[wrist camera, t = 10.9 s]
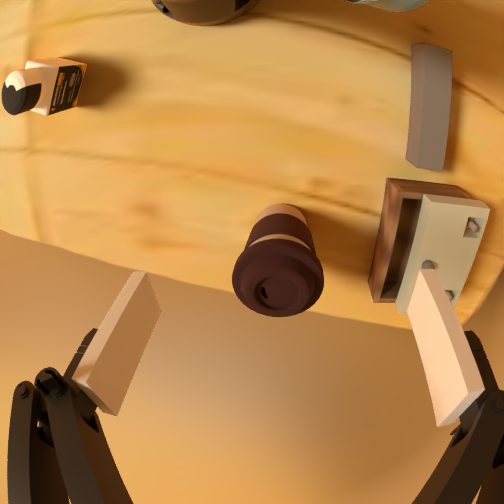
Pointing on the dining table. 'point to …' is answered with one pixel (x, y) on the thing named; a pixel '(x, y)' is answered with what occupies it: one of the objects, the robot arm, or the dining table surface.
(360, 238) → the dining table surface
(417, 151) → the block
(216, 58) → the dining table surface
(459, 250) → the door
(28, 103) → the medicine bottle
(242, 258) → the coffee cup
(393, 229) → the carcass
